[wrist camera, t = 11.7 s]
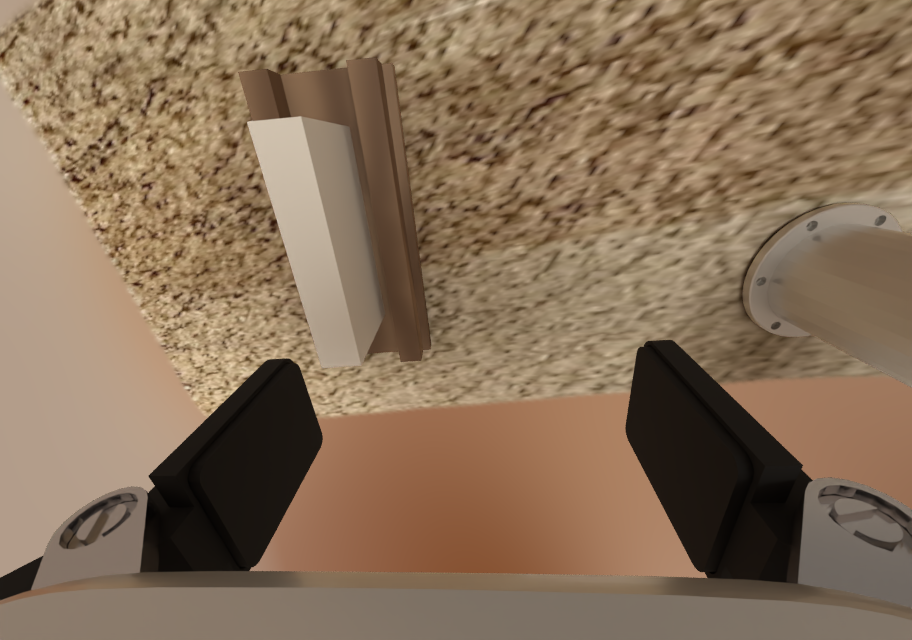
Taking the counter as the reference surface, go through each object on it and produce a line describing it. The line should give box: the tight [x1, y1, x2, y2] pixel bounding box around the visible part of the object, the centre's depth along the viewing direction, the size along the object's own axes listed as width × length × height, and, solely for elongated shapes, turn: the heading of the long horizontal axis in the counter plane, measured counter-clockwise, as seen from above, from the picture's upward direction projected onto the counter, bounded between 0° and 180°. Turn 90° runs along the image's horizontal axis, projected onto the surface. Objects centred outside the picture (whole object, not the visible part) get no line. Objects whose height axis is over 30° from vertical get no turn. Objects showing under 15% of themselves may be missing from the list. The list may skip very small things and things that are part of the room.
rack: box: [238, 57, 431, 362], centre depth 30 cm, size 11×24×3 cm, turn 5°
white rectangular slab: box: [247, 116, 385, 368], centre depth 26 cm, size 3×16×9 cm, turn 5°
